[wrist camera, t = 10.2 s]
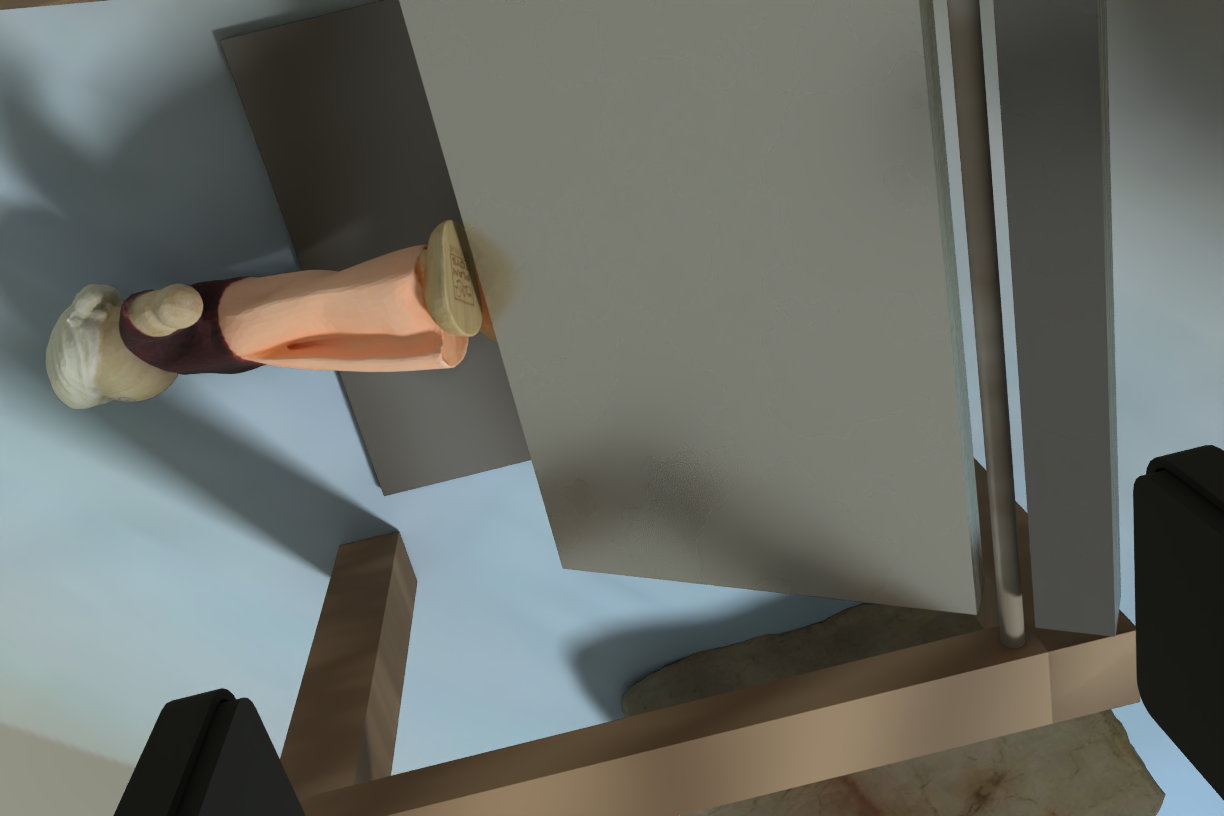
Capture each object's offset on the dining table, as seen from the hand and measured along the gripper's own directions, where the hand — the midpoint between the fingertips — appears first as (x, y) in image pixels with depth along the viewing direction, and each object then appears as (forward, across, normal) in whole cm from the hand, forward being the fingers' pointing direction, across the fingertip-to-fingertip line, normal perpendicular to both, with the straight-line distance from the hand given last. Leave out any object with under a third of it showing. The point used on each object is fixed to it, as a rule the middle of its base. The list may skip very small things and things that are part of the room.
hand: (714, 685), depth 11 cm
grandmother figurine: (+16, +3, 0) cm, 16 cm away
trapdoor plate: (+12, -4, 0) cm, 13 cm away
